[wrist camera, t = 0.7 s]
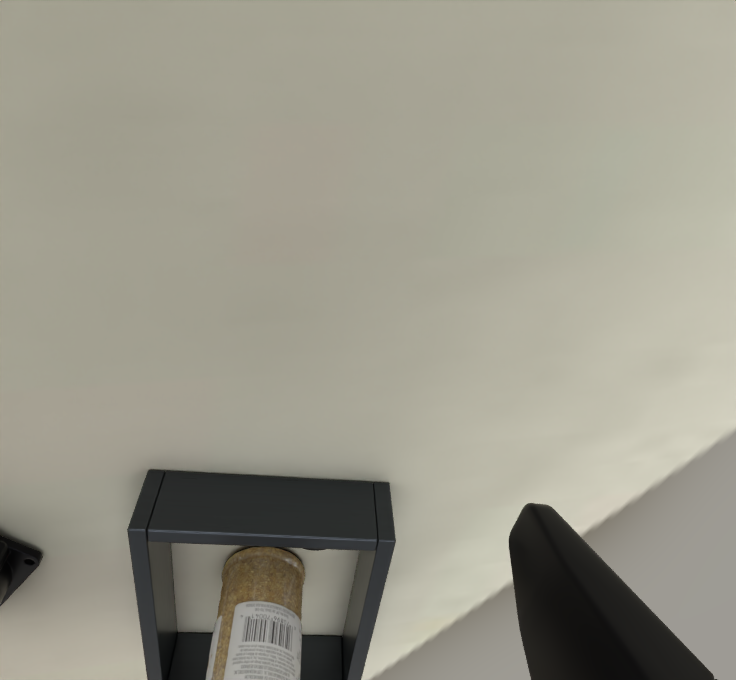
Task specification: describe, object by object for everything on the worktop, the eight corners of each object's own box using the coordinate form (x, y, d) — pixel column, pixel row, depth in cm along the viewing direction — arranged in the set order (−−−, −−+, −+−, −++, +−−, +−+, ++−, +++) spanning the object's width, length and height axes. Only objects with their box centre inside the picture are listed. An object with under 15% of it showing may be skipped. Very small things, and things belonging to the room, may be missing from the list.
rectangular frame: (164, 639, 35) (149, 700, 33) (148, 468, 28) (126, 529, 25) (353, 643, 37) (355, 702, 34) (389, 482, 29) (396, 541, 26)
